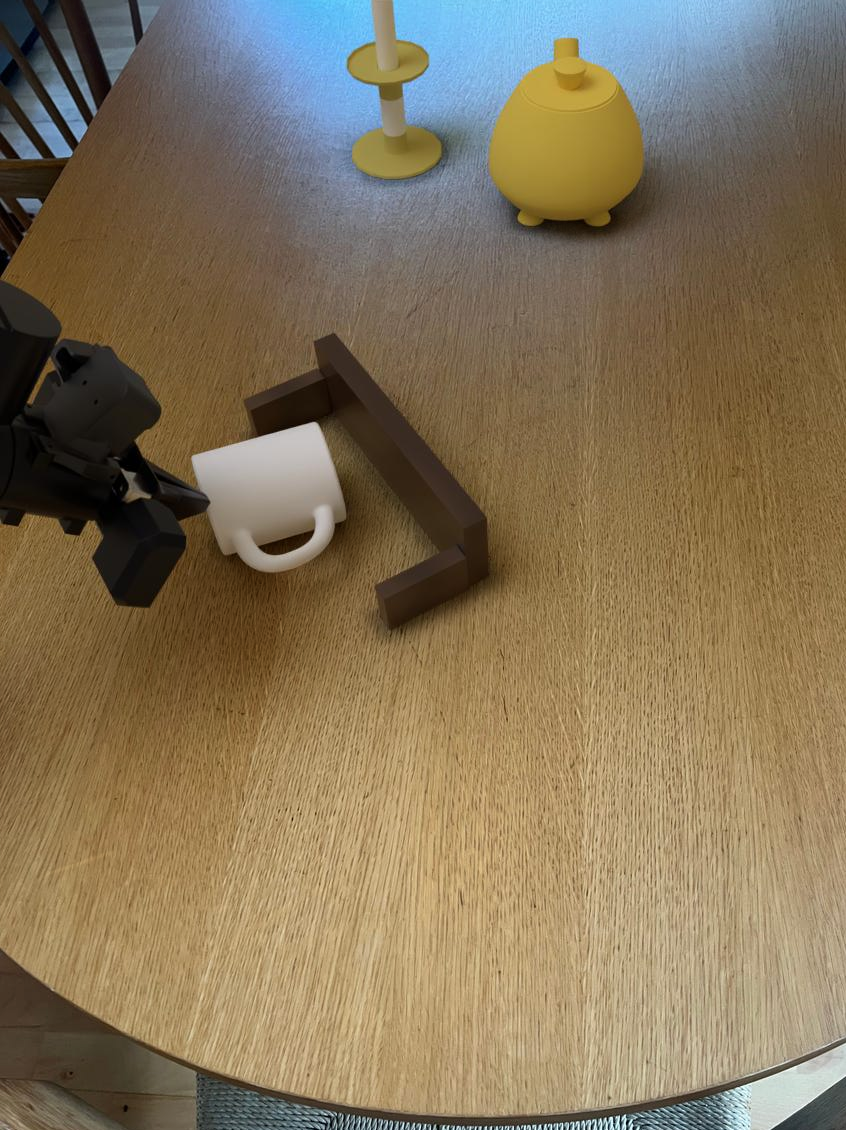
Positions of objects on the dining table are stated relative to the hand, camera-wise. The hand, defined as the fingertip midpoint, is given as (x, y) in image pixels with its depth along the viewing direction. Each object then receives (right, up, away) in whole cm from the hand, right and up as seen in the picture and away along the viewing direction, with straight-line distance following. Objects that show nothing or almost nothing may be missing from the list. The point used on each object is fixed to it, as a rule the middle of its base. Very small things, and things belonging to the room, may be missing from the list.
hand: (206, 503), depth 74 cm
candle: (+11, +43, +37) cm, 58 cm away
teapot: (+29, +38, +33) cm, 58 cm away
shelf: (+11, +1, +9) cm, 14 cm away
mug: (+4, -2, +8) cm, 9 cm away
